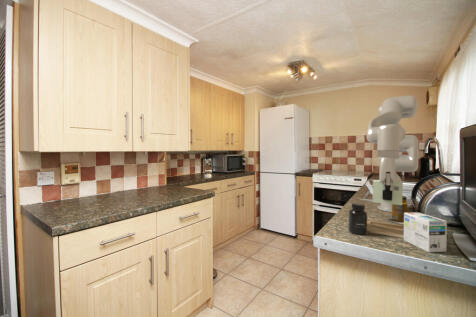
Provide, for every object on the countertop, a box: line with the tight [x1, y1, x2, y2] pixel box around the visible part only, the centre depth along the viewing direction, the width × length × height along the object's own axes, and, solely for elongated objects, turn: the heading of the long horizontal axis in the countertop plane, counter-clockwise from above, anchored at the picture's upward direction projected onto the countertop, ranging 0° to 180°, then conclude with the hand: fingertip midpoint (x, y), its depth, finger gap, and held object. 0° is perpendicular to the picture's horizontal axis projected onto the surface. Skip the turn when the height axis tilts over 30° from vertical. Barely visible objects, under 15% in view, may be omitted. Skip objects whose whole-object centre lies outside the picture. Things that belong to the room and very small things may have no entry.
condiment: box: [386, 195, 408, 225], centre depth 107 cm, size 7×8×12 cm
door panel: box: [372, 179, 404, 205], centre depth 92 cm, size 3×10×9 cm, turn 58°
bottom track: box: [367, 219, 404, 239], centre depth 92 cm, size 7×14×3 cm, turn 58°
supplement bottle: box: [347, 202, 368, 236], centre depth 92 cm, size 7×7×12 cm
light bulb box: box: [403, 212, 448, 253], centre depth 79 cm, size 11×7×11 cm, turn 5°
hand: (387, 198), depth 92 cm, fingers closed on door panel, 3 cm apart
